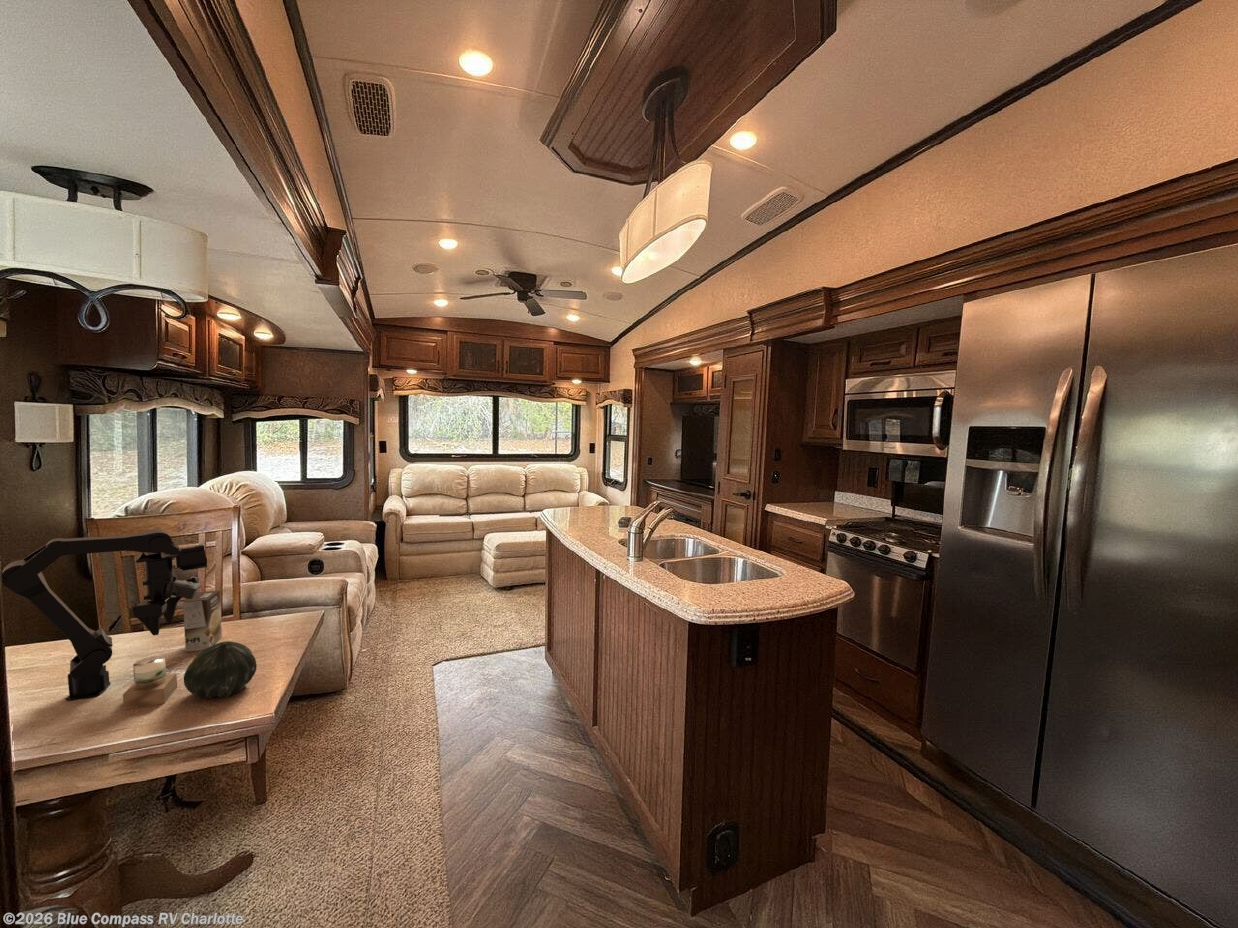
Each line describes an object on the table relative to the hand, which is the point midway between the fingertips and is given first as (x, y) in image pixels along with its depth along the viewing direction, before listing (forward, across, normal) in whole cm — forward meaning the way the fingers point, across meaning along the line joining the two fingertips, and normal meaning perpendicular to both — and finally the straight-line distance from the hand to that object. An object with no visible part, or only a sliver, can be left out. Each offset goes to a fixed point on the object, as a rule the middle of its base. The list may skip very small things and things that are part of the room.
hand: (163, 628), depth 143 cm
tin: (+9, -15, -2) cm, 18 cm away
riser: (+13, -15, -2) cm, 20 cm away
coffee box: (+13, +17, -4) cm, 22 cm away
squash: (+13, -17, -18) cm, 28 cm away
